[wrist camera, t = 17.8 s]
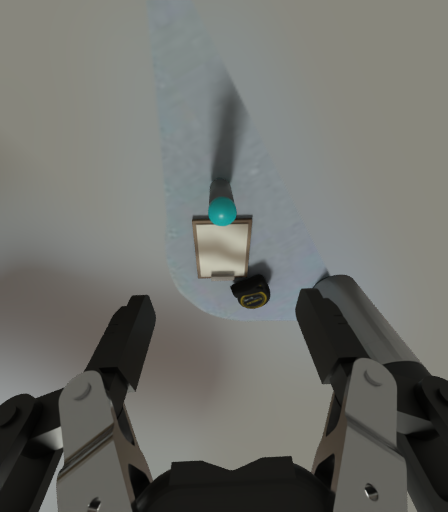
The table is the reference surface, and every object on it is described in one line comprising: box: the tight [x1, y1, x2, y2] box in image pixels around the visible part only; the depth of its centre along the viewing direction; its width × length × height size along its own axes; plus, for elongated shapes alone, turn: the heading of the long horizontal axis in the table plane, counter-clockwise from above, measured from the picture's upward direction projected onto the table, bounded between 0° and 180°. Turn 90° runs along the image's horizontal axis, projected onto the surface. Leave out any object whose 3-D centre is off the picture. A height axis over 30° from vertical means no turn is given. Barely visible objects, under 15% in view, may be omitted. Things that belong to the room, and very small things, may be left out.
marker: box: [208, 178, 237, 226], centre depth 25 cm, size 3×3×9 cm
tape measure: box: [230, 275, 270, 309], centre depth 40 cm, size 7×7×4 cm
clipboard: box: [192, 218, 252, 281], centre depth 35 cm, size 12×10×2 cm
